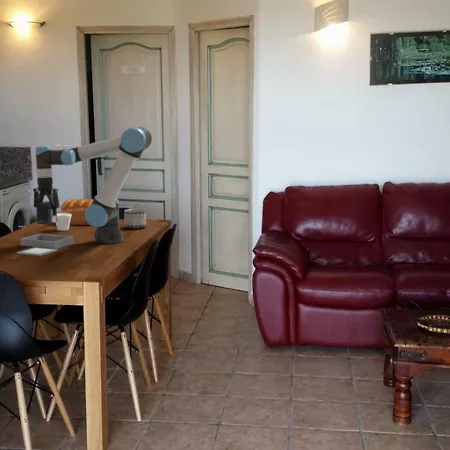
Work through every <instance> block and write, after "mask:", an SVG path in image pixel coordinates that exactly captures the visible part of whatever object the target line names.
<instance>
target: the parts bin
mask: <svg viewBox="0 0 450 450" xmlns="http://www.w3.org/2000/svg"><path fill="white" fill-rule="evenodd" d="M19 240H20V245H19V246H20V247H31V246H32V247H31V248H34V247H38V248H48V249H61V248H62V247H63V248H64V247H66V246H71V245H73V244H75V237H74V236H68V235H67V236H66V235H59V234H58V235H57V234H47V233H38V234H34V235H30V236H25V237H22V238H20V239H19Z"/></svg>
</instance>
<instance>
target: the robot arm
mask: <svg viewBox="0 0 450 450" xmlns="http://www.w3.org/2000/svg"><path fill="white" fill-rule="evenodd" d="M152 141H153V139H152V134H151V132H150V131H149V130H148V129H147V128H145V127H140V126H139V127H136V126H135V127H129V128H127V129H126V130H124V131H123V133H122V134H121V136H120V135H119V136H116V137H113V138H108V139H105V140H100V141H96V142H92V143H89V144H83V145H80V146H75V147H72V148H67V149H66V148H65V149H52V148H51V146H50V145H40V146H39V145H38V146H36V147H35V163H36V164H35V165H36V177H37V180H36V182H37V187H34V188H33V189H32V190H33V208H36V204H38V203H42V202H44V198H45V196H46V197H47V199H48V202H50V205H51V208H52V209H51V222H53V223H56V216H55V215H56V209H57V210H58V209H59V208H61V206H60V200H59V195H58V194H59V193H58V192H59V188H54V187H53V181H54V180H53V177H52V176H53V167H52V166H72V165H74V164H76V163H78V162H82V161H87V160H91V159H96V158H99V157H104V156H107V155H112V154H115V153H116V154H117V153H118V154H117V157H116V159H115V161H114V163H113V165H112V167H111V169H110V172H109V174H108V176H107V178H106V179H105V182H104V184H103V186H102V188H101V189H100V192H99V194H97V195H95V196H94V197H93V198H92V199H93V201H92V203H91V205H90V206H89V207H88V208H87V209H86V211H85V218H86V221H87V222H88V223H89V224H90V225H89V226H91V227H93V228H96V229H95V233H94V235H93V242H94V243H95V244H103V245H104V244H105V245H106V244H108V245H109V244H111V245H112V244H118V243H121V242H123V240H124V236H123V233H122V230H121V227H120V204H119V202H120V201H119V199H118V196H119V194H120V192H121V190H122V188H123V186H124V184H125V182H126V180H127V178H128V176H129V174H130V171H131V170H132V168H133V166H134V164H135V162H136V161H137V160H140V158H141V157H142V154H143V152H144V151H145V150H147V149H149V147H150V146H151V144H152Z"/></svg>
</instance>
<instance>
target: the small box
mask: <svg viewBox="0 0 450 450" xmlns="http://www.w3.org/2000/svg"><path fill="white" fill-rule="evenodd" d="M35 208H36V223H37V224H36V225H49V224H53V223H54V222H51V209H52V208H51V205H50V202H49V201H47V200H46V201H43V202H42V203H38V204H36V207H35ZM57 210H58V208H57V209H56V215H55V216H56V222H57V214H58V211H57ZM56 222H55V223H56Z"/></svg>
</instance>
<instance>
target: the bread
mask: <svg viewBox="0 0 450 450" xmlns="http://www.w3.org/2000/svg"><path fill="white" fill-rule="evenodd" d="M93 199H94V198H91V199H86V198H81V199H77V198H76V199H71V198H70V199H66V200H65V201H64V202H63V203H62V204H61V206H60V213H69V214H71V220H70V225H69V226H81V225H82V226H91V225H90V224H89V223H88V222H87V221H86V218H85V211H86V209H87V208H88V207H89V206H90V205H91V203H92V201H93Z"/></svg>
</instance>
